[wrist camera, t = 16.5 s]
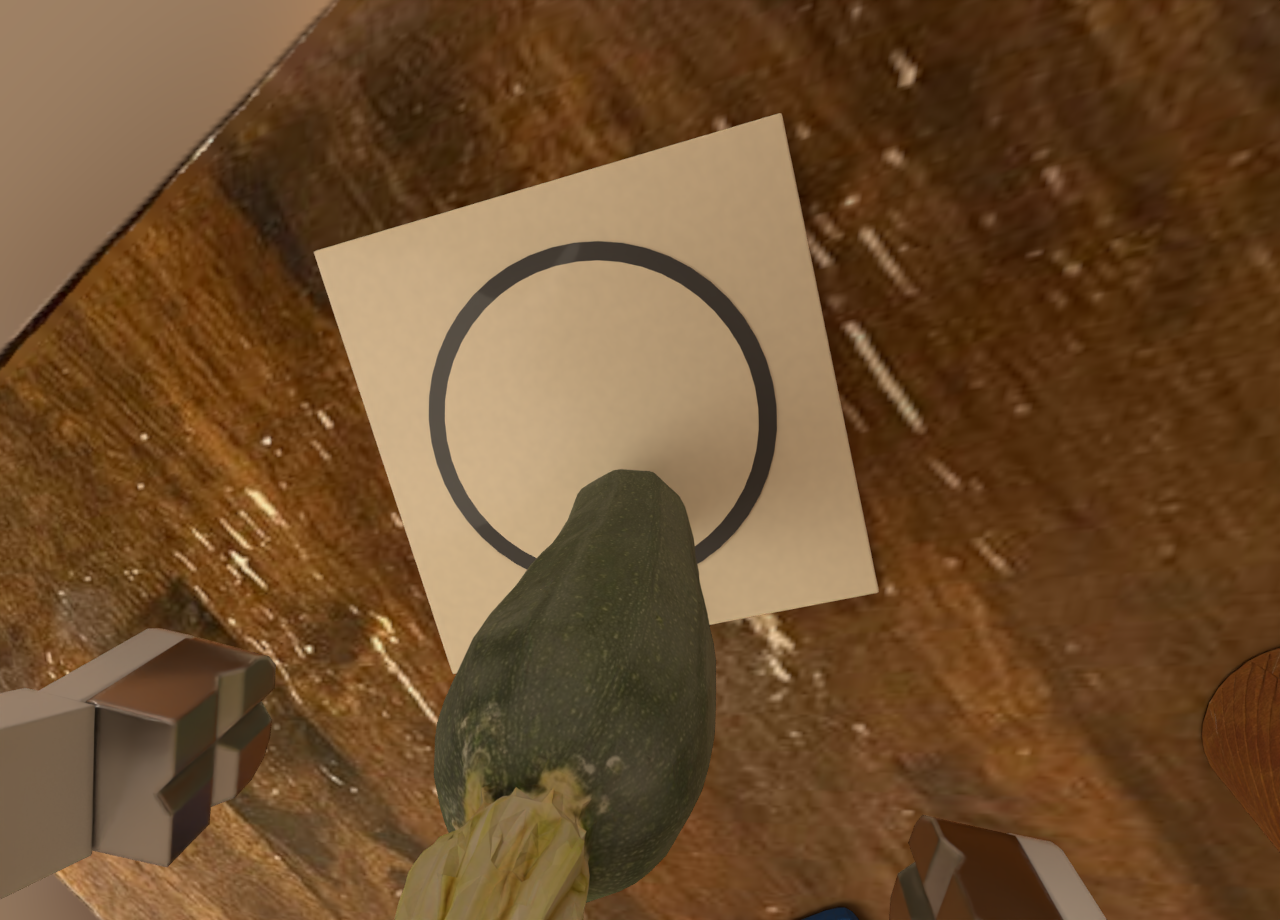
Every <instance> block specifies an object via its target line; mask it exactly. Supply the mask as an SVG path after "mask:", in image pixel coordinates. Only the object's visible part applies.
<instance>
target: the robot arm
mask: <svg viewBox="0 0 1280 920" xmlns="http://www.w3.org/2000/svg"><path fill="white" fill-rule="evenodd" d="M275 667H276V665H275V663H274V662H273V661H272V659H271V658H270V657H269V656H266V655H262V654H259V653H255V652H251V651H247V650H244V649H240V648H236V647H232V646H228V645H225V644H221V643H217V642H213V641H210V640H206V639H202V638H198V637H197V638H195V637H193V636H191V635H187V634H182V633H178V632H174V631H170V630H165V629H161V628H160V629H146V630H145V631H143V632H141V633H139V634H138V635H136V636H134V637H132V638H131V639H129V640H127V641H125V642H124V643H122V644H120V645H118V646H117V647H115V648H113V649H111V650H109V651H108V652H106V653H104V654H102V655H101V656H99V657H97V658H95V659H94V660H92V661H90V662H88V663H87V664H85V665H83V666H81V667H80V668H78V669H76V670H74V671H72V672H71V673H69V674H67V675H65V676H64V677H62V678H60V679H58V680H57V681H55V682H53V683H51V684H50V685H48V686H46V687H44V688H43V689H41V690H39V691H36V690H32V689H28V688H23V689H18V690H13V691H9V692H4V693H0V899H2V898H4V897H6V896H8V895H10V894H12V893H14V892H16V891H19V890H21V889H23V888H25V887H27V886H29V885H31V884H33V883H35V882H37V881H39V880H41V879H43V878H45V877H47V876H49V875H51V874H53V873H55V872H57V871H60V870H62V869H64V868H66V867H68V866H70V865H72V864H74V863H76V862H78V861H80V860H82V859H84V858H86V857H88V856H90V855H91V854H92V851H97V852H101V853H106V854H110V855H115V856H119V857H123V858H128V859H132V860H137V861H141V862H146V863H150V864H155V865H159V866H163V867H168V866H169V865H170V864H171V863H172V862H173V861H174V860H175V859H176V858H177V857H178V856H179V855H180V854H181V853H182V852H183V851H184V849H185V848H186V847H187V846H188V845H189V844H190V843H191V842H192V841H193V840H194V839H195V838H196V837H197V836H198V835H199V834H200V833H201V832H202V831H203V830H204V829H205V828H206V827H207V826H208V825H209V824H210V810H211V807H212V806H215V805H217V804H220V803H222V802H225V801H227V800H230V799H232V798H235V797H236V796H237V795H238V794H239V793H240V792H241V791H242V790H243V788H244V787H245V786H246V785H247V784H248V783H249V782H250V781H251V780H252V778H253V776H254V774H255V773H256V771H257V769H258V767H259V765H260V764H261V762H262V760H263V758H264V756H265V753H266V749H267V746H268V743H269V739H270V733H271V723H272V719H271V717H270V716H269V714H268V712H267V710H266V708H265V707H264V705H263V703H262V700H263V699H264V698H265V697H266V696H267V695H268V694H269V693H270V692H271V691H273V690H274V689H275ZM908 843H909V846H910V849H911V852H912V855H913V858H914V860H915V862H914V863H913V864H911V865H910V866H908V867H907V868H905V869H904V870H903V871H901V872H900V873H898V875H897V878H896V882H895V885H894V888H893V892H892V895H891V900H890V913H889V920H1107V919H1106V918H1105V916H1104V915H1103V913H1102V912H1101V910H1100V908H1099V907H1098V905H1097V904H1096V902H1095V901H1094V899H1093V897H1092V896H1091V894H1090V893H1089V891H1088V890H1087V888H1086V886H1085V885H1084V883H1083V882H1082V880H1081V879H1080V877H1079V875H1078V874H1077V872H1076V871H1075V869H1074V868H1073V866H1072V865H1071V863H1070V861H1069V860H1068V858H1067V857H1066V855H1065V854H1064V852H1063V850H1061V849H1060V848H1059V847H1058V846H1056V845H1055V844H1054V843H1052V842H1050V841H1045V840H1040V839H1035V838H1030V837H1026V836H1021V835H1016V834H1011V833H1007V834H1006V833H1002V832H997V831H993V830H989V829H984V828H980V827H975V826H971V825H966V824H962V823H957V822H953V821H948V820H944V819H940V818H935V817H931V816H926V815H922V816H921V817H920V818H919V820H918V821H917V822H916V824H915V825H914V828H913V831H912V834H911V837H910V839H909V842H908Z"/></svg>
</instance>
